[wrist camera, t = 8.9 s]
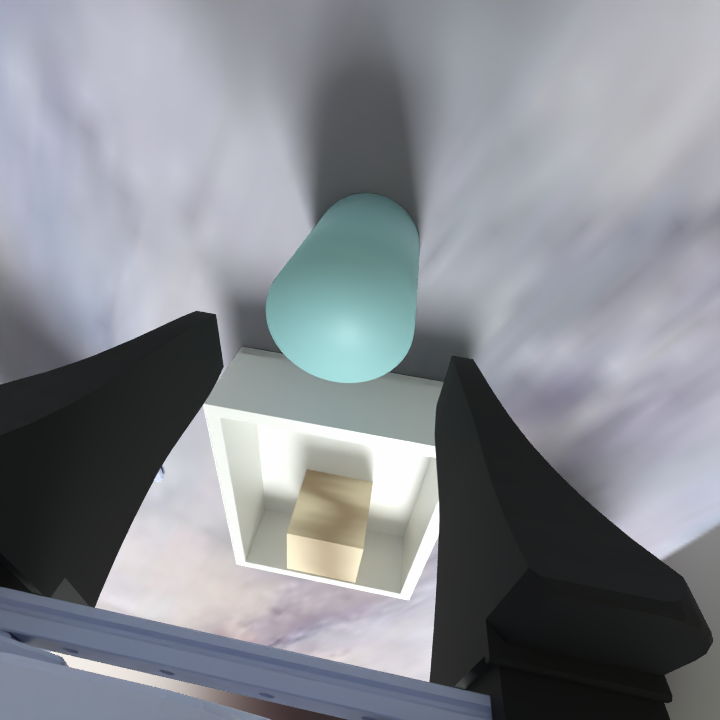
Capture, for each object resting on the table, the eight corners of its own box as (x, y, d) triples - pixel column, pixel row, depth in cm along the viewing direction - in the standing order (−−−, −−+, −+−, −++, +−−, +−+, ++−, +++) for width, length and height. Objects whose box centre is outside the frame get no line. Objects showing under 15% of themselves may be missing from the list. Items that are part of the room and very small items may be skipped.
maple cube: (305, 506, 31) (287, 568, 27) (306, 469, 28) (286, 533, 24) (364, 518, 31) (355, 582, 27) (373, 482, 28) (363, 549, 24)
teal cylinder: (314, 287, 20) (269, 370, 14) (317, 185, 17) (261, 239, 11) (409, 303, 20) (400, 393, 14) (430, 201, 16) (429, 267, 11)
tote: (259, 506, 34) (236, 564, 30) (241, 346, 23) (202, 403, 19) (411, 537, 33) (408, 600, 29) (467, 386, 22) (475, 453, 18)
